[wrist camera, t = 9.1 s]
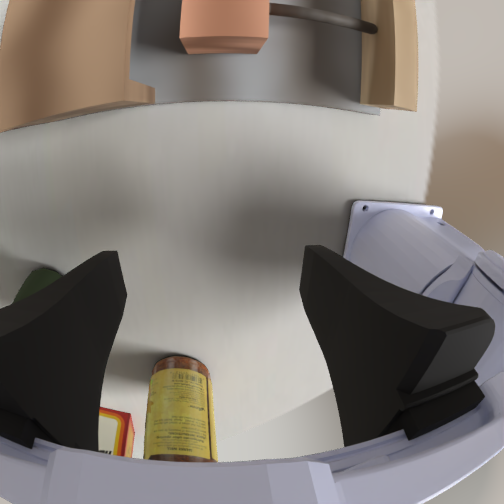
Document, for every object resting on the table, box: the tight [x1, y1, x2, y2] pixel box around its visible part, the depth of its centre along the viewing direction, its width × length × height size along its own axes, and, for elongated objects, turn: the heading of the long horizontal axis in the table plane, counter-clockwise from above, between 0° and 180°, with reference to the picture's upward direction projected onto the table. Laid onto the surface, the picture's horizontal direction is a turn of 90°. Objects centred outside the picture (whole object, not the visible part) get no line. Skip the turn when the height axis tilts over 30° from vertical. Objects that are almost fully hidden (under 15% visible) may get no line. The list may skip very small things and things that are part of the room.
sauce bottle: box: [143, 356, 218, 463], centre depth 18 cm, size 6×6×20 cm
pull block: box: [179, 0, 418, 112], centre depth 11 cm, size 12×10×4 cm
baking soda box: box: [98, 407, 135, 458], centre depth 24 cm, size 10×6×16 cm
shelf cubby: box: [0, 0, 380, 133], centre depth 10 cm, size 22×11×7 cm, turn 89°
